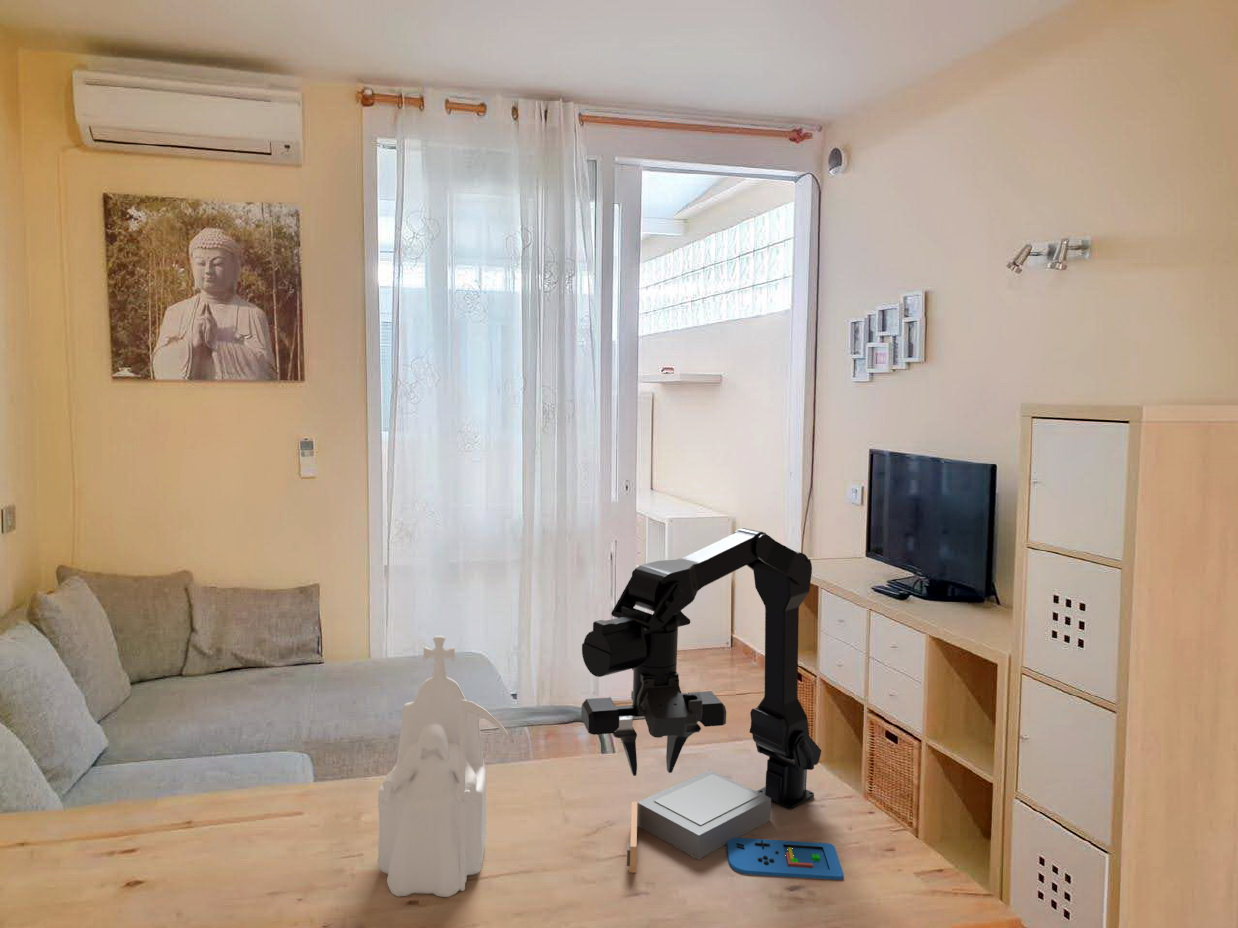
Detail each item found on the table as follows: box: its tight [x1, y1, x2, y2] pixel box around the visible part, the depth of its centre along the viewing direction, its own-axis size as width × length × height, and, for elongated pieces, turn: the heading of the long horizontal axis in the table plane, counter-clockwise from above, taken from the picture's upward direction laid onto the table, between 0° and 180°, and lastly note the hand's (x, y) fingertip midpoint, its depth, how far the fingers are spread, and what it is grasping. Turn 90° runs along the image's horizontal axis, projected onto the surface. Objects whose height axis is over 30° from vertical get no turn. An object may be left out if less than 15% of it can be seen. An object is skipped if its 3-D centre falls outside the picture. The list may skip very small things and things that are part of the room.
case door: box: [626, 801, 638, 873], centre depth 122 cm, size 1×12×4 cm, turn 178°
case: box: [636, 769, 772, 860], centre depth 129 cm, size 16×12×4 cm
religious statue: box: [377, 635, 509, 898], centre depth 114 cm, size 17×14×30 cm
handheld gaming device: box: [726, 837, 845, 881], centre depth 120 cm, size 8×1×15 cm
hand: (651, 772), depth 119 cm, fingers open, 5 cm apart
